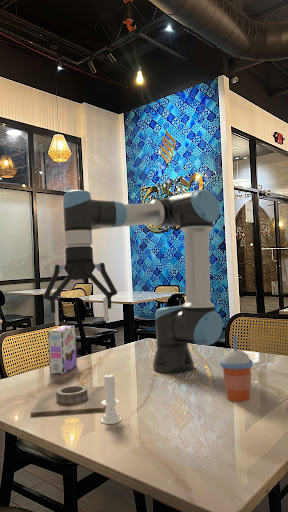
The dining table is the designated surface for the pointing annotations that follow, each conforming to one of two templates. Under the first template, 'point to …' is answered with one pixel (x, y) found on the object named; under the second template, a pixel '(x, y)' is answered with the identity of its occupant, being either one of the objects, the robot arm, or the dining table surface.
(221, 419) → the dining table surface
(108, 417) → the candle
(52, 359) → the candy box
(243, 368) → the cup with straw
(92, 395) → the flange board
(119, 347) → the dining table surface
